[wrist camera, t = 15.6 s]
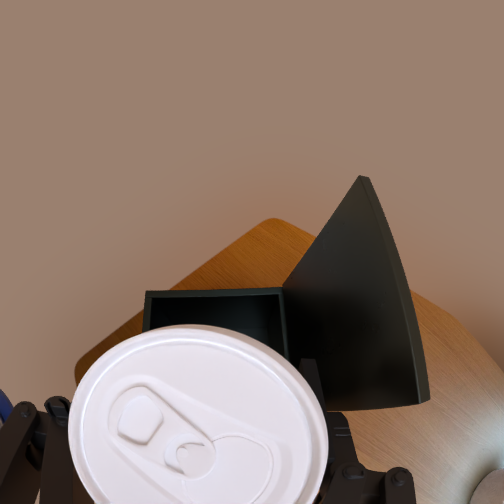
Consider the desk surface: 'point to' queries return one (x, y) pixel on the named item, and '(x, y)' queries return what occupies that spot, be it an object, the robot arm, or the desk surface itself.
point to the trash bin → (223, 312)
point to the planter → (490, 489)
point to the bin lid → (356, 311)
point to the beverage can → (197, 422)
